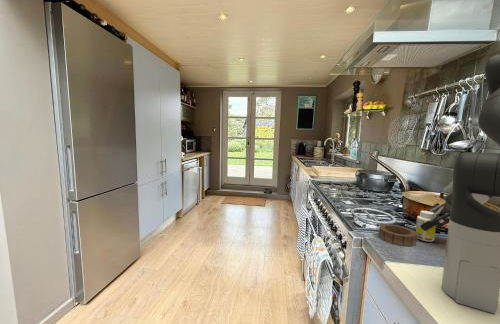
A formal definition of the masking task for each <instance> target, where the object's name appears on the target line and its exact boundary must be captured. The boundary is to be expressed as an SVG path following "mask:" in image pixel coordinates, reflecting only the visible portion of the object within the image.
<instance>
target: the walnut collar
mask: <svg viewBox="0 0 500 324" xmlns="http://www.w3.org/2000/svg"><path fill="white" fill-rule="evenodd" d="M378 238H380V239H381V240H383V241H384V242H387V243H389V244H391V245H392V244H393V245H396V246H401V247H414V246H416V244H417V239H418V238H417V234H416V230H412V229H410V228H408V227H405V226H403V225H402V226H401V225H398V224H391V223H389V224H387V223H384V224H380V225H379V228H378Z"/></svg>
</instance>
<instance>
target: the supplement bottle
mask: <svg viewBox="0 0 500 324" xmlns="http://www.w3.org/2000/svg"><path fill="white" fill-rule="evenodd" d="M433 217H434V213H432V212H429V211H426V210H420V212H419V215H417V218H416V220H417V222H416V224H415V226H416V227H415V232H416V234H417V238H416V239H418V240H420V241H423V242H430V243H432V242H434V241H435V239H436V227H437V226H434V227H432V228H430V229H428V230H427V231H424V230H423V229H422V228H421V227H420V225H422V224H424V223H425V222H427V221H430V219H432V218H433Z"/></svg>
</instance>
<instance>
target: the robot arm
mask: <svg viewBox="0 0 500 324" xmlns="http://www.w3.org/2000/svg"><path fill="white" fill-rule="evenodd" d="M484 66H485V67H484V75H485V83H486V86H487V90H488V93H489V96H488V97H487V98H486V99H485V100H484V102H483V103H482V105H481V109H480V112H479V115H478V120H477V121H478V126H479V128H480V130H481V131H482V132H483V133H484V134H485V135H486V136H487V137H488V138H490V140H492V141H493V143H496V144H497V145H498V146H499V147H500V54H495V55H493V56H491V57H489V58H488V59H487V60H486V62H485V65H484ZM452 175H453V176H452V192H450V193H448V194H447V195H446V196H444V197H443V200H444V203H442V204H440V203H439V202H436V203H435V204H433V205H432V206H431V207H429V208H428V209H426V210H425V211H429V212H432V213H434V217H433V218H432V219H430V221H427V222H425V223H424V224H422V225H420V227H421V228H422V229H423V230H424V231H427V230H428V229H430V228H432V227H434V226H436V227H438V228H441V227H443V226H445V225H447V224H448V229H447V237H446V245H445V253H444V262H443V270H442V279H441V289H442V291H443V292H444V293H445V294H447V296H449V297H450V298H452V299H453V300H454V301H455V302H456V303H457V304H460V305H464V306H467V307H470V308H475V309H476V310H480V311H484V312H488V313H490V314H494V315H495V314H496V310H497V309H498V306H499V305H498V304H499V299H500V212H499V211H497V210H494V209H492V208H490V207H488V206H485V205H484V204H485V203H486V202H488V201H489V200H491V199H492V198H495V197H497V198H500V152H499V153H498V152H497V153H496V152H477V151H476V152H471V151H470V152H469V151H468V152H467V151H466V152H461V153H459V154H458V155H457V157H456V158H455V161H454V165H453V173H452ZM415 223H417V219H416V220H415Z"/></svg>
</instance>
